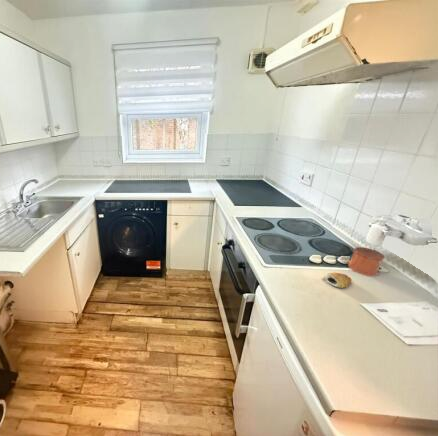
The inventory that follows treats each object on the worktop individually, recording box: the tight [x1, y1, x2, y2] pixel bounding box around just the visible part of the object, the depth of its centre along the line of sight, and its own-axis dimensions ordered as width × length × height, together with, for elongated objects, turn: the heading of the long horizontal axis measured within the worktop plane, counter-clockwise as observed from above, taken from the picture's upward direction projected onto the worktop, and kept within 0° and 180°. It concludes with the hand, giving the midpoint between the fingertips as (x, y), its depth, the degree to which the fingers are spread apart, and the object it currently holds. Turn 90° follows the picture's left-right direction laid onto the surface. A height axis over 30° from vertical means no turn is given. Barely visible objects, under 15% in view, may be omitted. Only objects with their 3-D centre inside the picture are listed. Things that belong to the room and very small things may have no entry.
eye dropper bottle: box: [365, 216, 388, 247], centre depth 95 cm, size 4×6×12 cm
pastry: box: [323, 272, 352, 289], centre depth 93 cm, size 9×7×4 cm
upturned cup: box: [347, 246, 385, 277], centre depth 100 cm, size 10×10×8 cm
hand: (376, 228), depth 94 cm, fingers closed on eye dropper bottle, 5 cm apart
